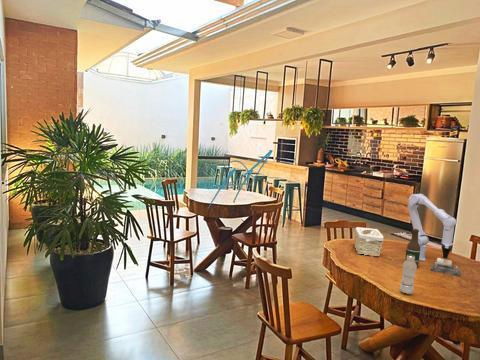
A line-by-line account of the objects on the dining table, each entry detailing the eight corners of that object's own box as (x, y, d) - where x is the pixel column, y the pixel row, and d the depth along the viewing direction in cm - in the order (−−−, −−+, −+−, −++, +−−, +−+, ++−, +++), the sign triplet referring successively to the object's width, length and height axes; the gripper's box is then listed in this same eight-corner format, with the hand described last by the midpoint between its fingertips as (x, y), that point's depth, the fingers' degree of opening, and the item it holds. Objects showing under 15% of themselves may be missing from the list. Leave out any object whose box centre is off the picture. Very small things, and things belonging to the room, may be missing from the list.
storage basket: (353, 245, 269) (355, 226, 267) (376, 248, 266) (378, 228, 264) (356, 255, 246) (359, 234, 244) (382, 258, 243) (384, 237, 241)
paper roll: (435, 266, 235) (436, 259, 234) (436, 262, 239) (437, 256, 238) (451, 269, 231) (452, 262, 229) (451, 265, 235) (452, 259, 234)
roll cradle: (430, 270, 225) (431, 264, 225) (431, 265, 234) (431, 259, 234) (460, 276, 218) (461, 270, 217) (460, 271, 227) (460, 265, 226)
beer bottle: (417, 265, 233) (422, 229, 230) (418, 269, 226) (423, 231, 223) (404, 263, 236) (409, 227, 233) (404, 266, 229) (409, 229, 226)
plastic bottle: (396, 290, 190) (401, 253, 188) (409, 290, 191) (413, 253, 189) (403, 295, 184) (408, 257, 182) (415, 296, 185) (420, 258, 182)
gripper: (455, 239, 225) (452, 261, 226) (454, 235, 237) (451, 255, 239) (442, 237, 228) (439, 258, 229) (442, 233, 241) (439, 253, 242)
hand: (445, 256), depth 234 cm, fingers open, 7 cm apart
